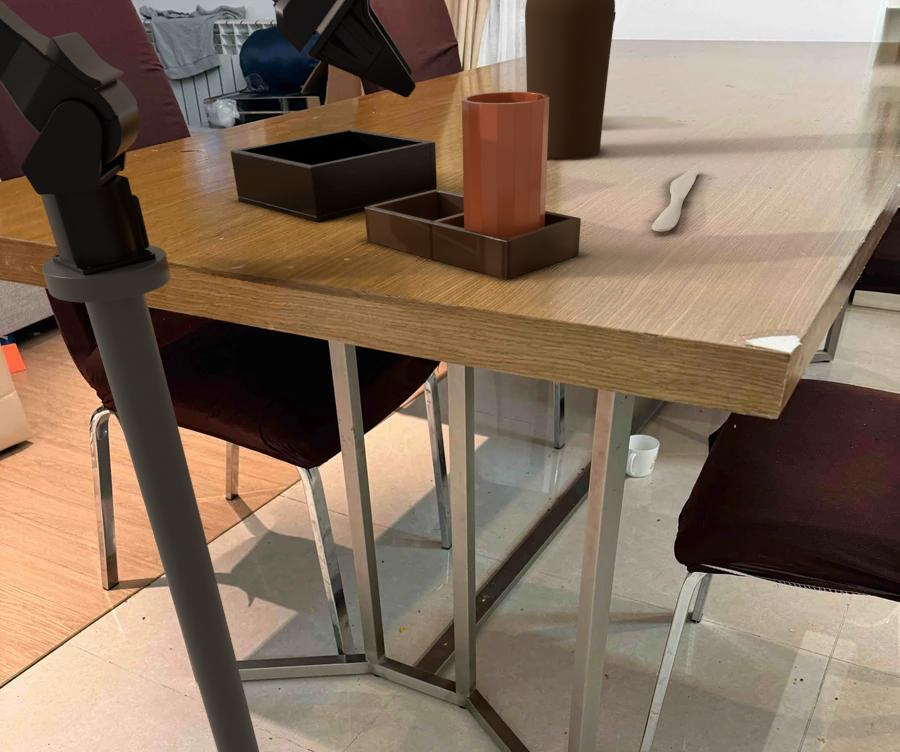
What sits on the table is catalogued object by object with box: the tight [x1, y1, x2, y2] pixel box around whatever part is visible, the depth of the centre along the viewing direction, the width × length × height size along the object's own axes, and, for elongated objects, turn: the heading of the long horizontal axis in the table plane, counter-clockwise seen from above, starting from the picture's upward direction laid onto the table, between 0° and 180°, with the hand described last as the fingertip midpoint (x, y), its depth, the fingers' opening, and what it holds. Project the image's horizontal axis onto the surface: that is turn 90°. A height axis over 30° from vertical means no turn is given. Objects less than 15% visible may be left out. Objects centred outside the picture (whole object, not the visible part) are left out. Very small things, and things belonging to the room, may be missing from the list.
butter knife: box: [651, 169, 700, 232], centre depth 87 cm, size 1×27×3 cm
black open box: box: [230, 128, 438, 223], centre depth 92 cm, size 17×15×5 cm
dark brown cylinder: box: [524, 0, 617, 160], centre depth 101 cm, size 11×11×25 cm
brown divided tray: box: [364, 188, 582, 280], centre depth 75 cm, size 9×18×3 cm, turn 44°
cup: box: [461, 91, 549, 238], centre depth 69 cm, size 7×7×12 cm
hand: (410, 84), depth 65 cm, fingers open, 9 cm apart
